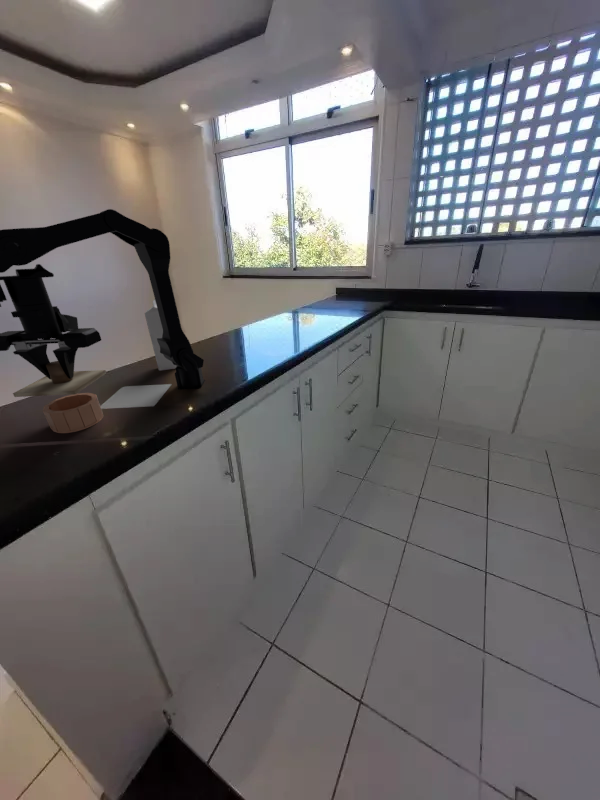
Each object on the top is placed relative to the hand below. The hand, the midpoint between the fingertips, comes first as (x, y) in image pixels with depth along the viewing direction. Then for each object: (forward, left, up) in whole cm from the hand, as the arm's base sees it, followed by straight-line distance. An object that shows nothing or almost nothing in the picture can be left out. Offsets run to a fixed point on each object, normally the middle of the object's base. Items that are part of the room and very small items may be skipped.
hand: (61, 378), depth 67 cm
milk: (-9, -36, -11) cm, 39 cm away
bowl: (0, 0, -11) cm, 11 cm away
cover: (0, 0, -1) cm, 1 cm away
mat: (-8, -13, -11) cm, 19 cm away
